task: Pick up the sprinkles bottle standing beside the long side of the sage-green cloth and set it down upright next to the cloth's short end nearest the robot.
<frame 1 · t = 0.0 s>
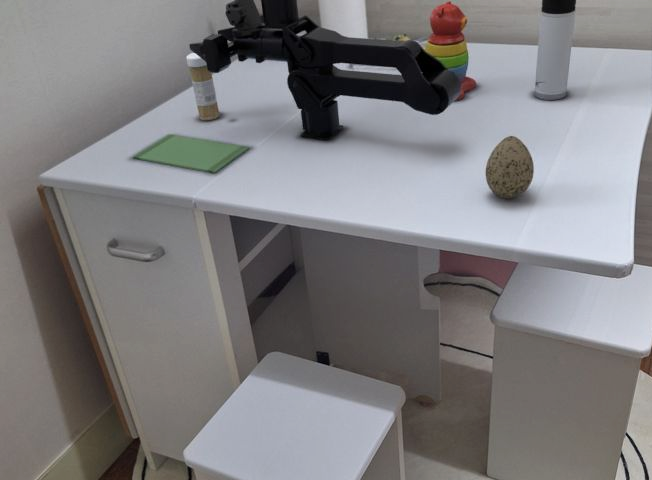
hand: (204, 39, 138), 17 cm above the table, tool horizontal, fingers open, 9 cm apart
sprinkles bottle: (209, 118, 149), on the table
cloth: (190, 153, 133), on the table
decorative egg: (507, 197, 109), on the table
stacking bear: (447, 91, 149), on the table
travel mug: (549, 96, 141), on the table
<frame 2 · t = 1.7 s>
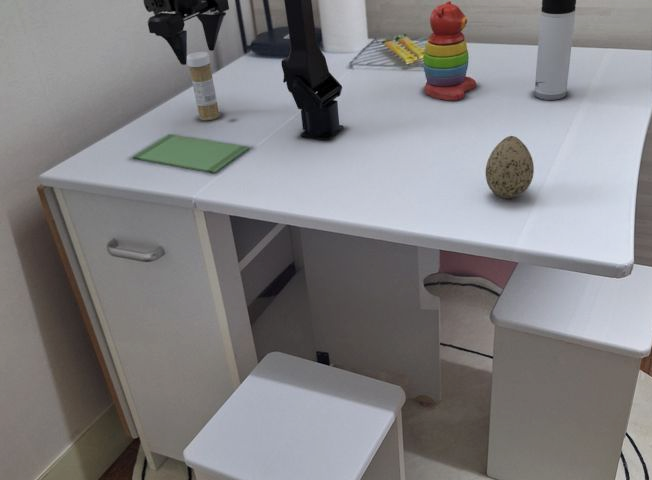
hand: (197, 57, 141), 13 cm above the table, tool pointing down, fingers open, 9 cm apart
nothing on the table moved.
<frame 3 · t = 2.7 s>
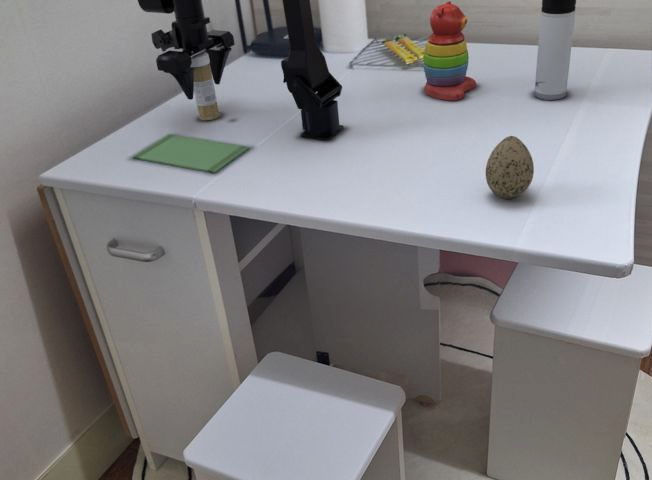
hand: (204, 91, 145), 6 cm above the table, tool pointing down
sprinkles bottle: (209, 118, 149), on the table, touching gripper
everything else where it was.
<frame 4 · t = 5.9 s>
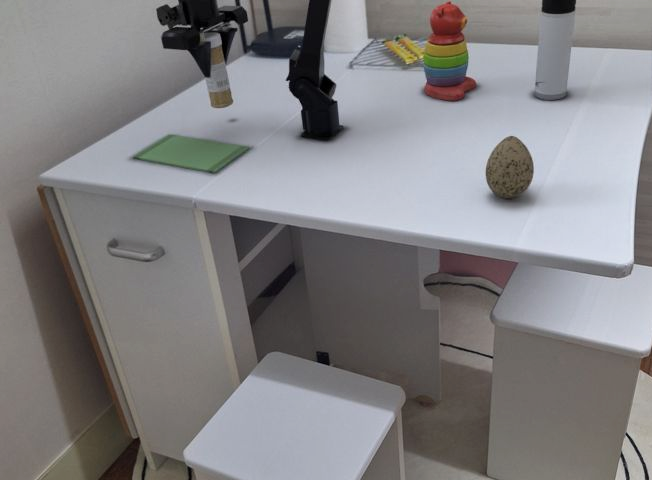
hand: (215, 73, 132), 13 cm above the table, tool pointing down, fingers closed on sprinkles bottle, 4 cm apart
sprinkles bottle: (222, 105, 136), point 6 cm above the table, touching gripper
everything else where it was.
when the fingers open (6 cm above the table, at t = 9.2 s): sprinkles bottle stays where it is, on the table.
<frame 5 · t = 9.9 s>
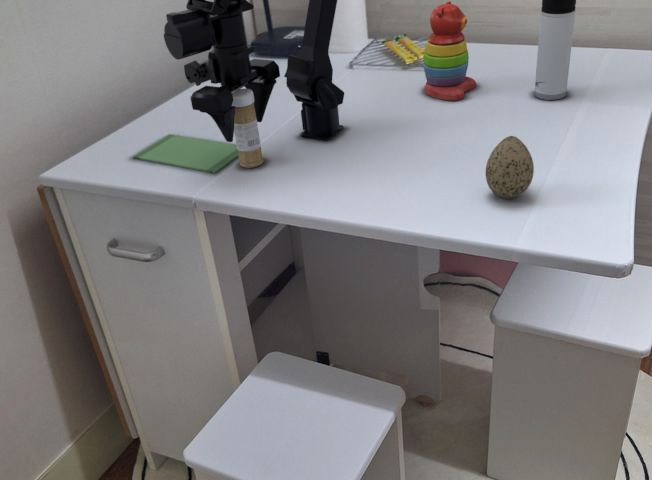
hand: (244, 131, 124), 6 cm above the table, tool pointing down, fingers open, 9 cm apart
sprinkles bottle: (251, 164, 127), on the table
everything else where it was.
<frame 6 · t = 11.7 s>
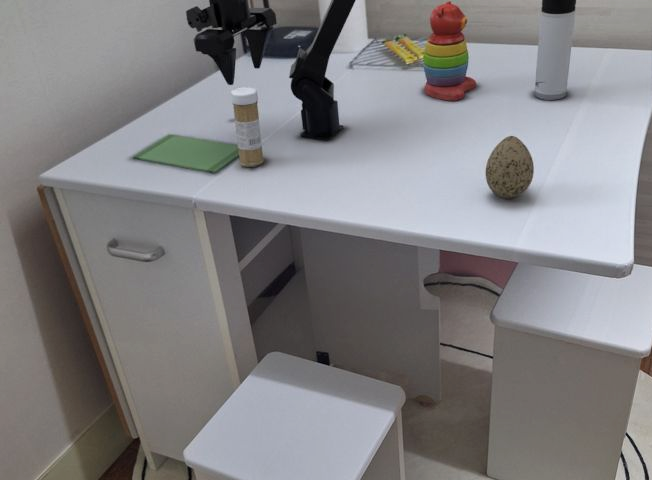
hand: (244, 76, 130), 12 cm above the table, tool pointing down, fingers open, 9 cm apart
nothing on the table moved.
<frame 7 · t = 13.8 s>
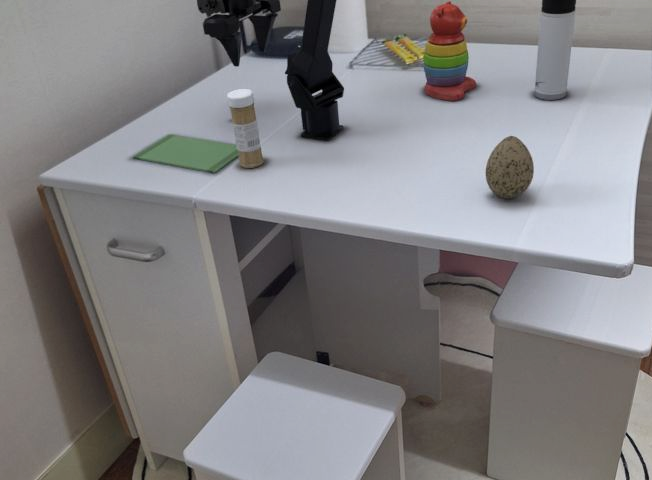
hand: (249, 58, 140), 12 cm above the table, tool pointing down, fingers open, 9 cm apart
nothing on the table moved.
at the end: sprinkles bottle inside the target area on the table beside the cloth (0.7 cm from its centre), on the table; sprinkles bottle tilted 0°; the gripper is holding nothing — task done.
